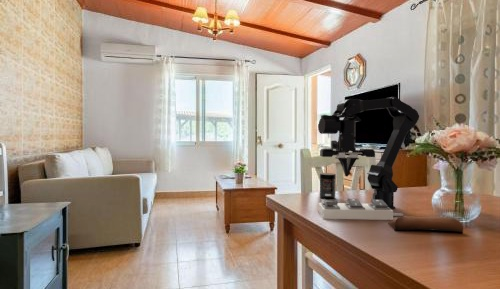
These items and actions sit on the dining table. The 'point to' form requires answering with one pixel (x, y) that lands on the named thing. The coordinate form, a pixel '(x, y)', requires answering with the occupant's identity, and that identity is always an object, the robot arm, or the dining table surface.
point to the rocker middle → (354, 203)
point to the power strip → (355, 212)
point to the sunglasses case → (426, 223)
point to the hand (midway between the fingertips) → (346, 176)
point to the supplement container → (327, 185)
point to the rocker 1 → (330, 203)
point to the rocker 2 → (379, 203)
